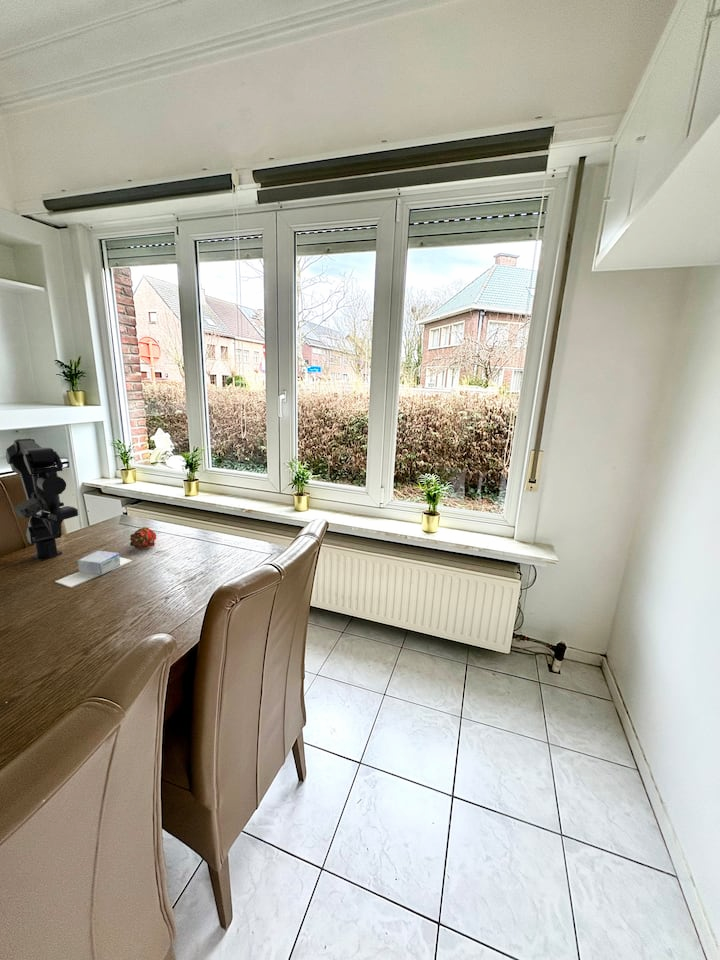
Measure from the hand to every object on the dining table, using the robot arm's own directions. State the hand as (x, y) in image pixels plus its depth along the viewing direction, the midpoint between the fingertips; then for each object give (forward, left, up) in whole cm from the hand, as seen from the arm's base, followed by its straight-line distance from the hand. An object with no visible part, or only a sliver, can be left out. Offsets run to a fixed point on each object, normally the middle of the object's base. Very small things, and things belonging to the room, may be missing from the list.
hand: (54, 534), depth 123 cm
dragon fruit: (+9, +24, -12) cm, 28 cm away
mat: (+12, +4, -12) cm, 17 cm away
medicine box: (+8, +4, -9) cm, 13 cm away
